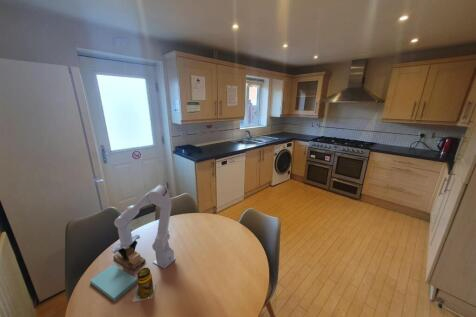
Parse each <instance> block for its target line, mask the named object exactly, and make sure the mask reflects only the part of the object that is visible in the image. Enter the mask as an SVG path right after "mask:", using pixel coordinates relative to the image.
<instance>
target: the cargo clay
mask: <svg viewBox="0 0 476 317" xmlns="http://www.w3.org/2000/svg"><path fill="white" fill-rule="evenodd" d="M140 257H141V253H139V252H137V251H136V250H135V252H134V253H132V254H131V255H129V262H130V263H132V264H133V265H135V264H136V263H137V262H139V261H140V260H141V258H140Z"/></svg>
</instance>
